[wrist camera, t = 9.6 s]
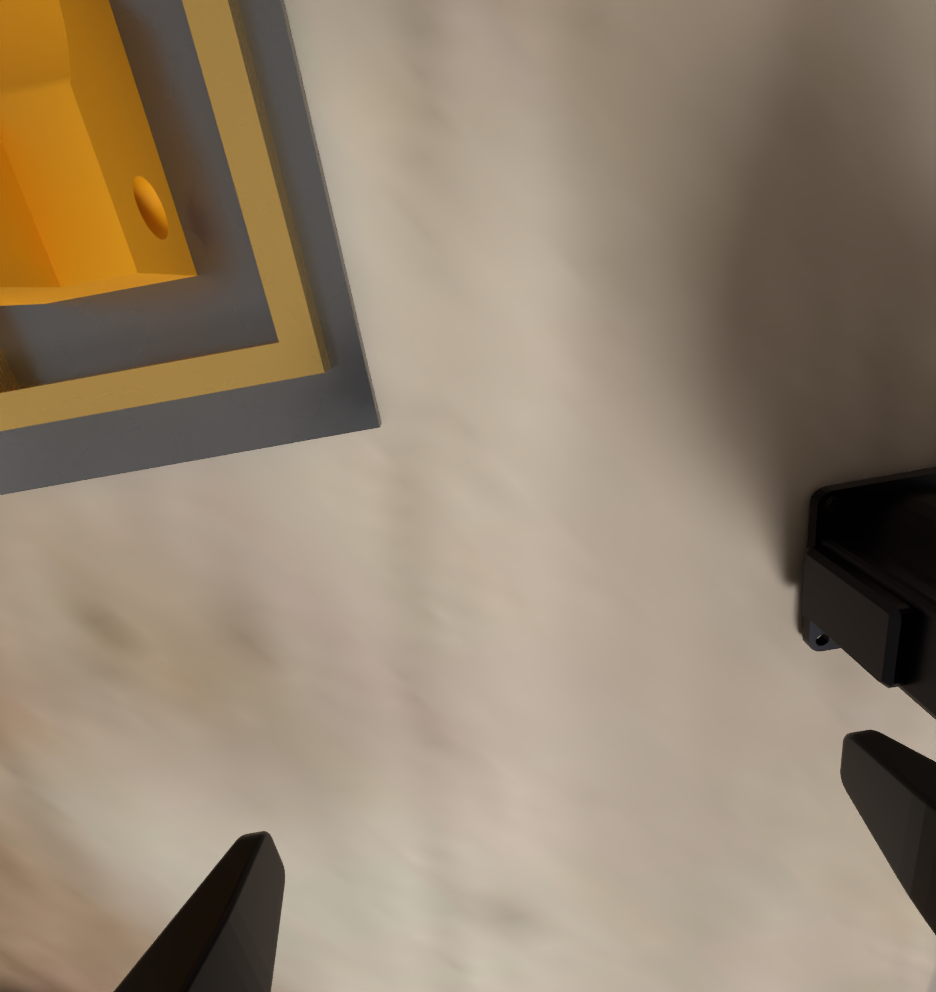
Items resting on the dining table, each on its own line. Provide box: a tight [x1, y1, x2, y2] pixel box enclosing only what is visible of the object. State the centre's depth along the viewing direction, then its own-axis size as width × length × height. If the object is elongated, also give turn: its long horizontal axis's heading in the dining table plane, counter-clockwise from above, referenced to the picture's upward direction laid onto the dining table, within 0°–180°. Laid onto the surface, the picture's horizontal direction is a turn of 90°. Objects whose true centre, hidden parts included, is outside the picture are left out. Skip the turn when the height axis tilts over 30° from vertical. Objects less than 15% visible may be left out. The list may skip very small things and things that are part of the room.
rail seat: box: [0, 0, 381, 495], centre depth 13 cm, size 12×22×2 cm, turn 10°
